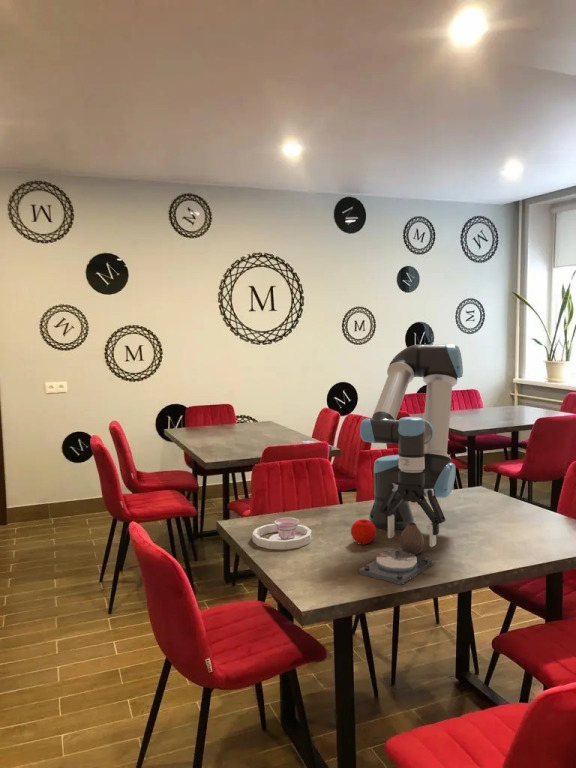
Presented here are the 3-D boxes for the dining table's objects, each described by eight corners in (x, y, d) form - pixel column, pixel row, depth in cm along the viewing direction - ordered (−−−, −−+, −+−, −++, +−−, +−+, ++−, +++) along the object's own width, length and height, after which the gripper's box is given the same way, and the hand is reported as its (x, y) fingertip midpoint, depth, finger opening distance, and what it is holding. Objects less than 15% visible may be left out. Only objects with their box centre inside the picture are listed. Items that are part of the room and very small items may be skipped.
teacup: (283, 532, 204) (282, 514, 204) (313, 538, 197) (313, 519, 197) (261, 542, 194) (260, 523, 194) (292, 549, 187) (291, 529, 187)
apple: (380, 546, 188) (379, 522, 187) (355, 548, 186) (354, 524, 186) (372, 538, 196) (372, 515, 195) (348, 540, 194) (347, 517, 194)
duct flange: (359, 573, 166) (359, 562, 166) (391, 554, 180) (391, 544, 180) (402, 584, 158) (402, 572, 158) (432, 564, 172) (432, 552, 172)
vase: (408, 547, 187) (408, 518, 186) (428, 552, 182) (428, 523, 181) (395, 552, 182) (395, 524, 181) (415, 558, 177) (415, 528, 176)
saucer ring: (241, 541, 194) (241, 534, 194) (278, 527, 209) (278, 519, 209) (286, 553, 183) (286, 545, 183) (322, 537, 197) (322, 529, 197)
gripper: (368, 467, 185) (368, 536, 186) (446, 477, 169) (445, 552, 170) (380, 463, 191) (380, 530, 192) (457, 472, 175) (456, 545, 176)
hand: (411, 541), depth 181 cm, fingers open, 13 cm apart
